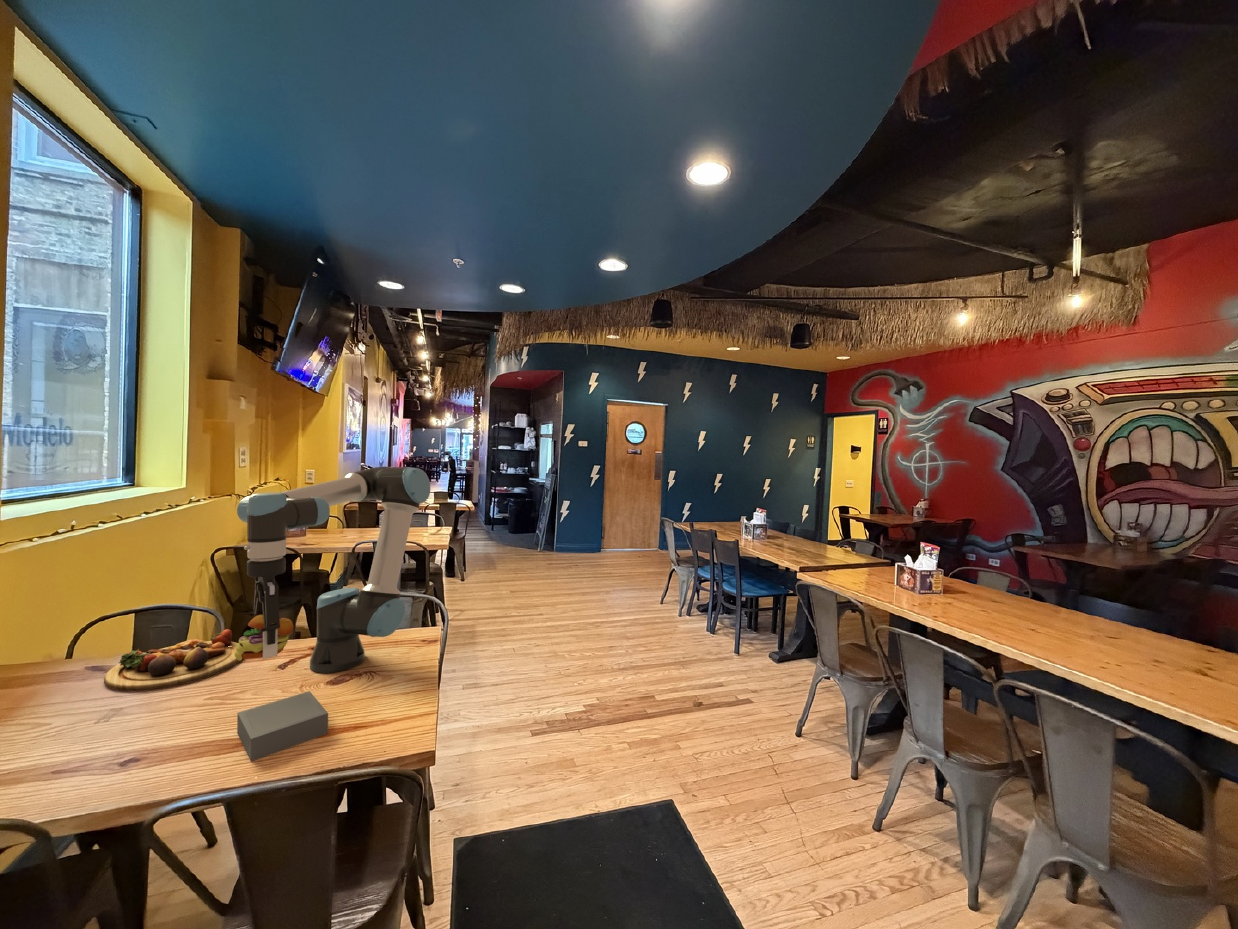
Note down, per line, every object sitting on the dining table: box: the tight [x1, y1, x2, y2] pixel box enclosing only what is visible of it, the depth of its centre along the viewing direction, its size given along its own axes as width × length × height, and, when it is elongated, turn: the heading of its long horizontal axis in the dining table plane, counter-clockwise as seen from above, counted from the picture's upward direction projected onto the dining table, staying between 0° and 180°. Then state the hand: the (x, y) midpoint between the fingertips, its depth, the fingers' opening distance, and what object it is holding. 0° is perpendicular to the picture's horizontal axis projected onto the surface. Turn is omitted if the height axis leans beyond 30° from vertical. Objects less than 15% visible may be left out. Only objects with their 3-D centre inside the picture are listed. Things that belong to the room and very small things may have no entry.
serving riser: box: [236, 690, 329, 762], centre depth 116 cm, size 15×15×5 cm
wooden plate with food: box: [103, 628, 240, 692], centre depth 149 cm, size 32×32×8 cm
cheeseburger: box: [235, 615, 294, 662], centre depth 116 cm, size 10×11×10 cm
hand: (265, 650), depth 116 cm, fingers closed on cheeseburger, 10 cm apart
